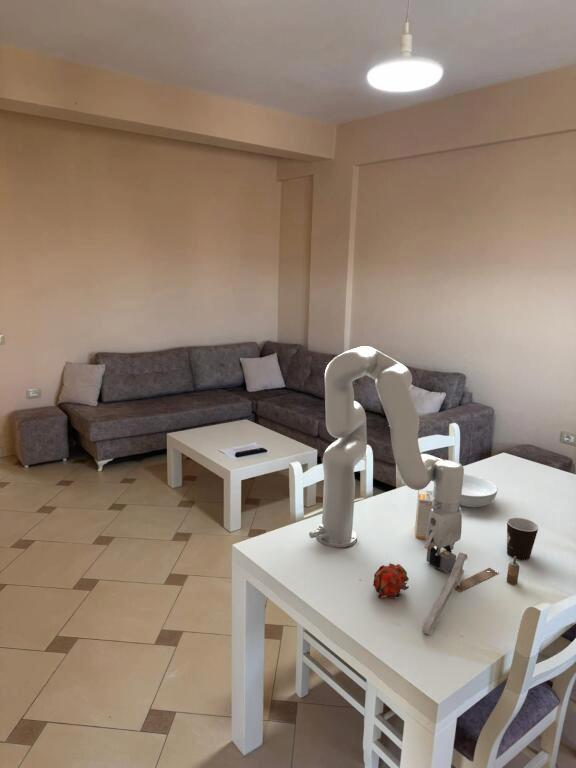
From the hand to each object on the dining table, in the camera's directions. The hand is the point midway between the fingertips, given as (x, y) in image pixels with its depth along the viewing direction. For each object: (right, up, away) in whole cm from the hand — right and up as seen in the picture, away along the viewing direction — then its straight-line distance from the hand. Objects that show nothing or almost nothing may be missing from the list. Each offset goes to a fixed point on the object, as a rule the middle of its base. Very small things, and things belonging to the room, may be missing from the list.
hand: (439, 562), depth 155 cm
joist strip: (+8, -3, -6) cm, 10 cm away
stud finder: (0, 0, 0) cm, 0 cm away
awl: (+18, -3, -6) cm, 19 cm away
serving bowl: (+22, +8, +44) cm, 49 cm away
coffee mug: (+27, 0, +9) cm, 28 cm away
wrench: (-4, -5, -17) cm, 18 cm away
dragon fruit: (-17, -4, -14) cm, 22 cm away
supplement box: (0, +3, +19) cm, 20 cm away
